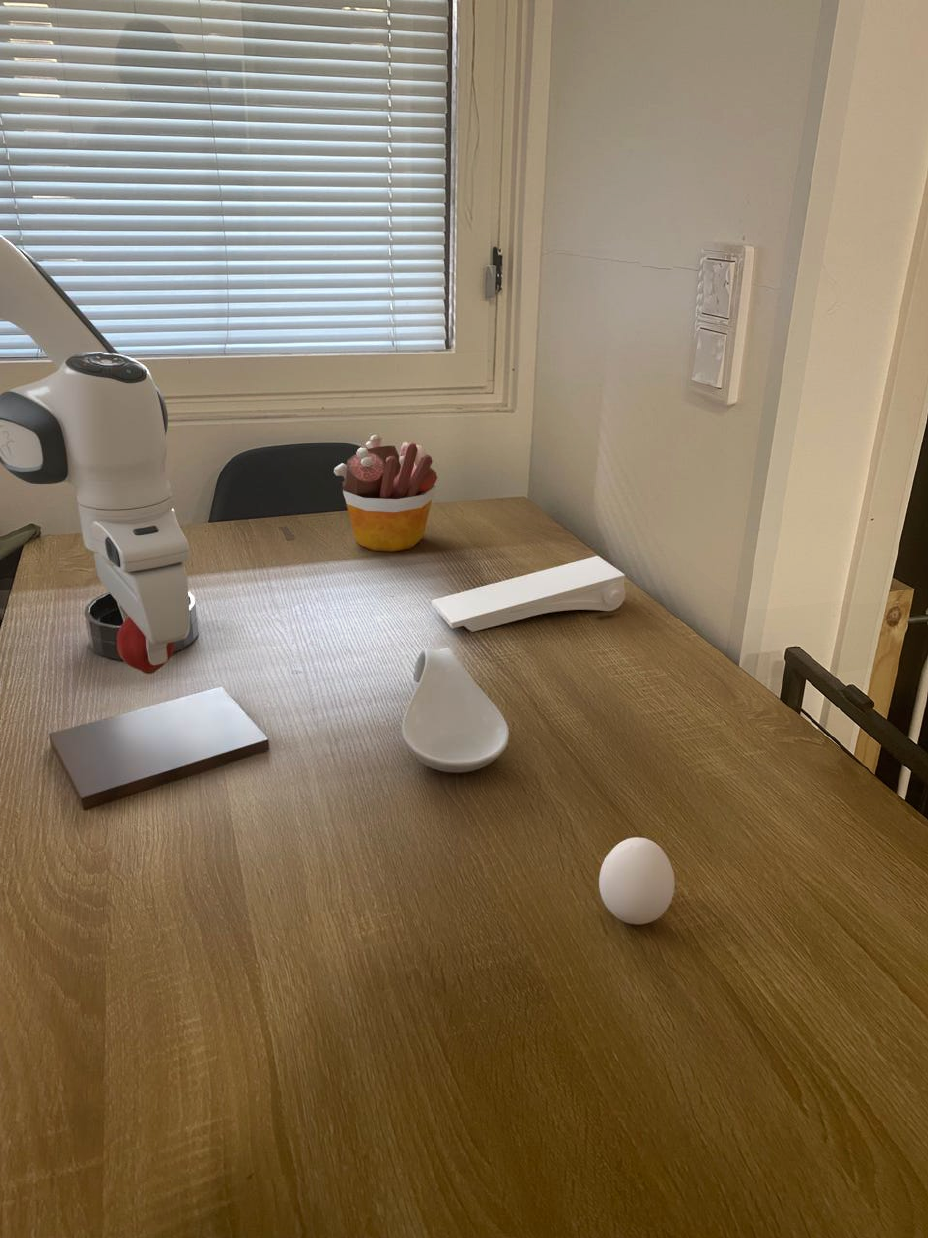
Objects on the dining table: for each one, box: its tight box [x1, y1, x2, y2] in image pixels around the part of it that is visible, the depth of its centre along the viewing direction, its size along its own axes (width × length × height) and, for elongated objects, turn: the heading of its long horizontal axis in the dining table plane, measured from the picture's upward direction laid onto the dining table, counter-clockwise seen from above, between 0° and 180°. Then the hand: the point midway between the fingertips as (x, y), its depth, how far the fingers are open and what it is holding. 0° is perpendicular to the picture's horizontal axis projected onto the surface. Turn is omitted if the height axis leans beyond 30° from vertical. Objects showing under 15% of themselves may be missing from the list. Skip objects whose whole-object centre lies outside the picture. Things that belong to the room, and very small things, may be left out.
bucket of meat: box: [333, 434, 438, 552], centre depth 158 cm, size 20×16×20 cm
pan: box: [84, 591, 199, 661], centre depth 125 cm, size 14×14×5 cm
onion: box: [117, 617, 175, 675], centre depth 96 cm, size 6×6×8 cm
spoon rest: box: [401, 647, 510, 774], centre depth 105 cm, size 24×12×7 cm, turn 11°
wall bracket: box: [431, 555, 627, 633], centre depth 137 cm, size 10×7×28 cm
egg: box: [598, 836, 676, 926], centre depth 78 cm, size 6×6×8 cm
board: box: [48, 686, 270, 811], centre depth 101 cm, size 20×14×2 cm
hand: (146, 648), depth 96 cm, fingers closed on onion, 6 cm apart
